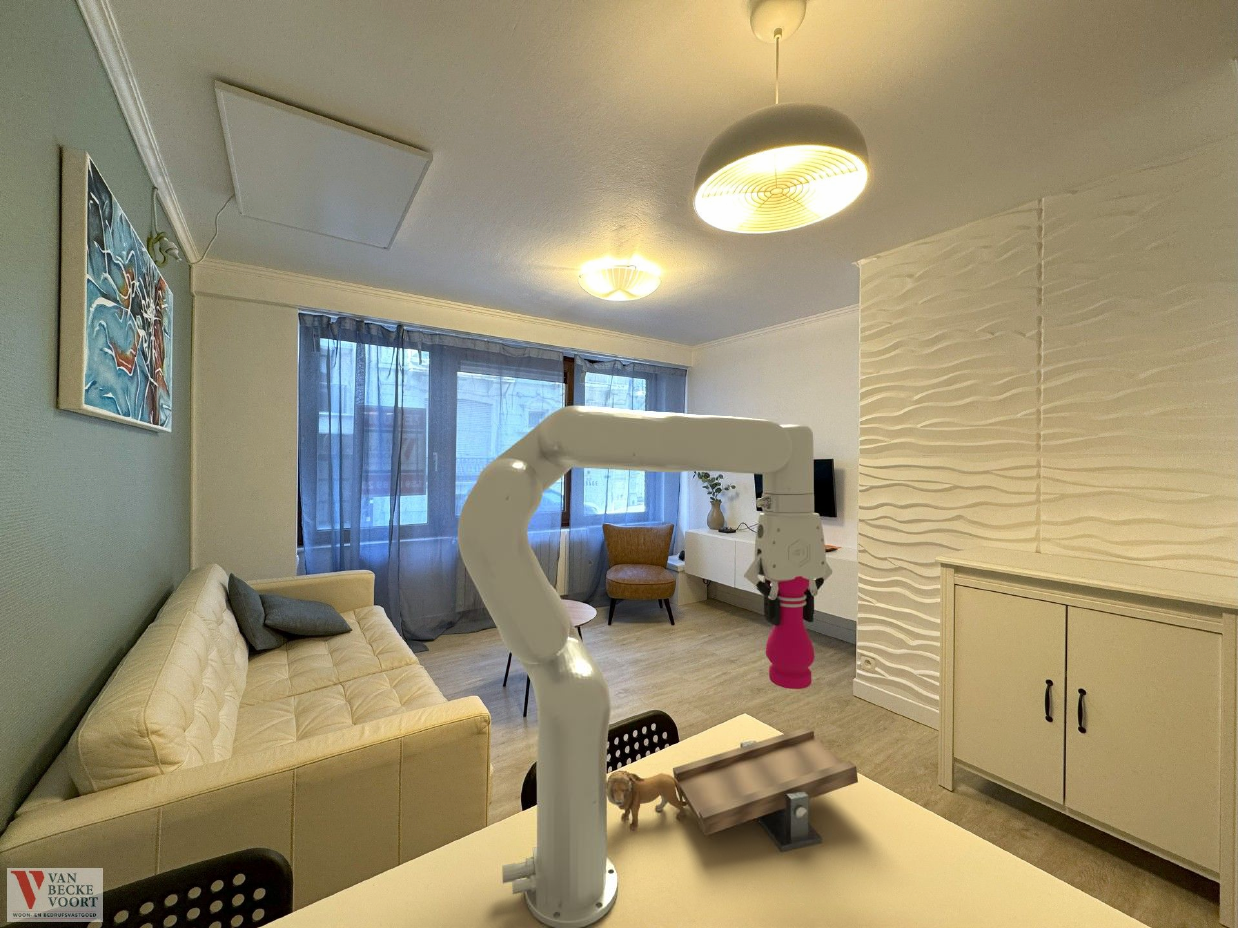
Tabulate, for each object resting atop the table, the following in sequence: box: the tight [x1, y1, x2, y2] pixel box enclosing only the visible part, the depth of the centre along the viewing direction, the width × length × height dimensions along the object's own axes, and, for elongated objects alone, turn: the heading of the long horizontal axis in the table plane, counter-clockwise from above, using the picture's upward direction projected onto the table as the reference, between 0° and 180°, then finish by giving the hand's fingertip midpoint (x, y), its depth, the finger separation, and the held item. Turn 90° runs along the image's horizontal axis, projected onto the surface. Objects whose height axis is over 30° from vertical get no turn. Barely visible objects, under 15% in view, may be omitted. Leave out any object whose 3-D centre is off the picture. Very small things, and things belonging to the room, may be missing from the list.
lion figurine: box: [607, 770, 688, 831], centre depth 83 cm, size 15×5×9 cm, turn 115°
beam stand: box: [739, 740, 823, 852], centre depth 85 cm, size 7×17×7 cm, turn 15°
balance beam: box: [672, 726, 859, 836], centre depth 85 cm, size 27×13×3 cm, turn 105°
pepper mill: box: [765, 576, 816, 690], centre depth 79 cm, size 7×7×20 cm
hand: (789, 620), depth 79 cm, fingers closed on pepper mill, 5 cm apart
